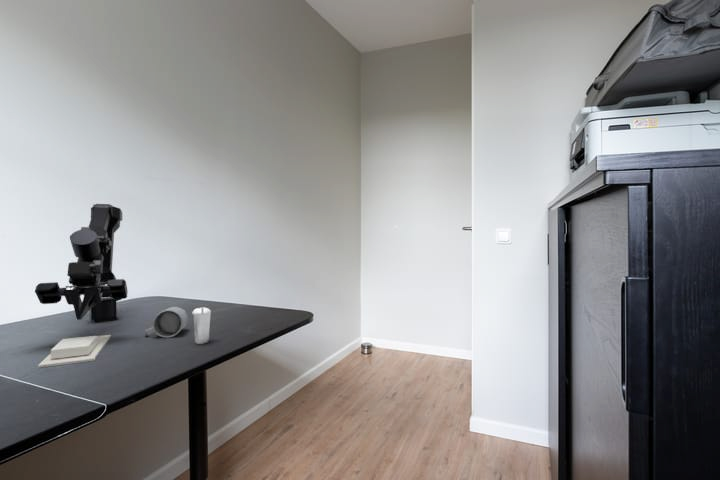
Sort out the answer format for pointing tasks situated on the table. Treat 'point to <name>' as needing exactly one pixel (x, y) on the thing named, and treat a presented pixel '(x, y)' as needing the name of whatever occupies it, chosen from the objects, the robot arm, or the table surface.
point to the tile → (74, 347)
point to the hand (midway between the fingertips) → (78, 318)
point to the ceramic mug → (168, 322)
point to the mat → (77, 359)
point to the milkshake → (201, 324)
